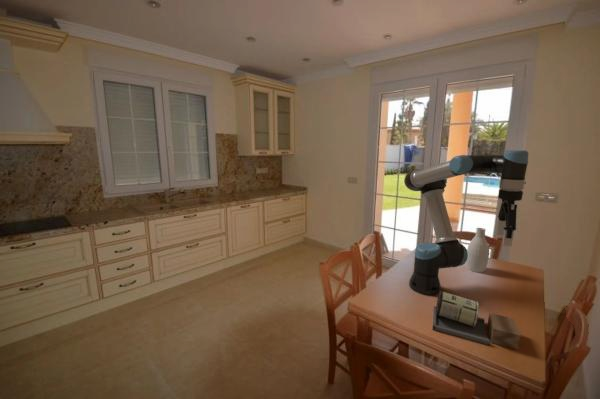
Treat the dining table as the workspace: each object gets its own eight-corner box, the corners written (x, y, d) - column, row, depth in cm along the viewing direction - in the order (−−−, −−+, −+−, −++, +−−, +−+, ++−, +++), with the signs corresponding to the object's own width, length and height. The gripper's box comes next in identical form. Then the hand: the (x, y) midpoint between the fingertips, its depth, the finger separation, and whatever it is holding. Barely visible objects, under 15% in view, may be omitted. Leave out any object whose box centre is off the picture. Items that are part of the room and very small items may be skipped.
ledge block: (491, 342, 101) (493, 328, 100) (487, 325, 111) (489, 312, 110) (517, 350, 97) (520, 335, 96) (511, 331, 107) (513, 318, 106)
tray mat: (432, 329, 109) (432, 325, 108) (433, 309, 122) (434, 306, 121) (488, 345, 100) (489, 341, 100) (483, 322, 113) (484, 318, 113)
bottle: (462, 269, 161) (467, 228, 156) (468, 263, 169) (473, 224, 164) (483, 275, 153) (489, 233, 148) (489, 269, 160) (494, 228, 156)
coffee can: (471, 321, 114) (435, 309, 120) (476, 298, 114) (439, 287, 120) (474, 331, 105) (435, 317, 111) (480, 305, 104) (440, 293, 111)
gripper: (532, 195, 94) (522, 252, 98) (515, 186, 116) (508, 232, 120) (505, 193, 97) (497, 248, 102) (494, 184, 119) (488, 230, 123)
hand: (503, 240), depth 111 cm, fingers open, 13 cm apart
